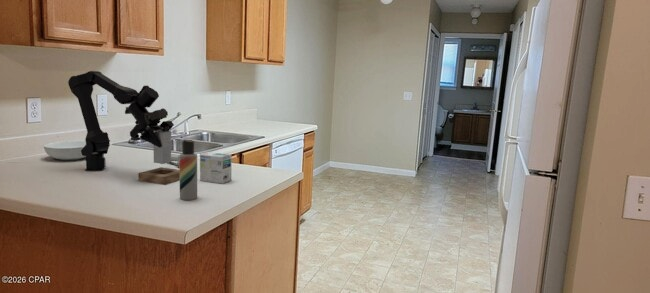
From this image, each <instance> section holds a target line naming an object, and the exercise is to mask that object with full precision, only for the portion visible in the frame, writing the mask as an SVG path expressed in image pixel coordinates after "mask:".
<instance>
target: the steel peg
mask: <svg viewBox="0 0 650 293" xmlns="http://www.w3.org/2000/svg"><path fill="white" fill-rule="evenodd" d="M154 134H155V136H156V137H157V139H158V140H159V142H160V144H161V145H162V146H161V147H160V148H159V147H157V146H155V145H153V163H154V164H162V165H165V164H169V163H172V161H171V154H172V139H171V138H172V132H171V131H156V132H155V131H154Z"/></svg>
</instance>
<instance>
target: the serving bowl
mask: <svg viewBox="0 0 650 293" xmlns="http://www.w3.org/2000/svg"><path fill="white" fill-rule="evenodd" d="M85 145H86V141H85V140H61V141H53V142H49V143H48V142H47V143H45V144H44V145H43V149H44V152H45V153H46V155H48V156H50V157H51V158H52V159H56V160H57V159H58V160H61V161H76V160H81V159H83V158H86V156H82V153H81V150H82V149H83V148H84V146H85Z"/></svg>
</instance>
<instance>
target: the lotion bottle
mask: <svg viewBox="0 0 650 293" xmlns="http://www.w3.org/2000/svg"><path fill="white" fill-rule="evenodd" d="M181 143H182V144H181V146H182V147H181V148H182V153H180V154H178V155H179V161H178V162H179V167H180V168H179V167H178V168H179V170H180V180H179V199H180V200H183V201H193V200H196V199H197V198H198V154H197V153H196V152H195V141H194V140H192V139H183V140H182V141H181Z"/></svg>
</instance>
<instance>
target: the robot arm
mask: <svg viewBox="0 0 650 293" xmlns="http://www.w3.org/2000/svg"><path fill="white" fill-rule="evenodd" d="M67 82H68V87H69V89H70V92H71V93H72V94H73V95H74V97H76V98H77V101H78V104H79V107H80V110H81V114H82V117H83V121H84V124H85V129H86V132H87V133H86V135H85V139H84V141H86V145H85V146H84V148H83V149H82V150H81V153H82V156H86V157H85V165H86V168H85V171H103V170H104V169H105V168H106V167H107V166H106V164H107V162H106V157H105V155H106V154H108V151H109V147H110V145H111V144H110V142H111V140H110V138H109V134H108V132H106V131H103V130H102V129H101V126H100V123H99V119H98V115H97V113H96V108H95V105H94V101H93V98H92V94H93V92H94V86H95V85H96V86H98V87H101V88H102V89H104V90H105V91H107V92H109V93H110V94H111V95H112V96H113V99H114V100H116V101H117V102H118V103H119V104H120V105H128V106H126V107H125V110H124V114H125V115H129V114H131V116H132V117H133V118H134V119H135V121H134V123H135V125H134V127H132V128H131V129H130V131H129V136H130V138H131V139H132V140H136V139H140V140H143V141H145V142H147V143H150V144H151V145H153V146H154V145H155V146H157V147H159V148H160V147H161V146H162V145H161V144H160V142H159V140H158V139H157V137H156V136H155V134H154V132H156V131H168V132H170V130H171V129H172V128H173V126H175V124H174V123H173V121H172V120H163V119H166V118H167V116H168V115H169V114H168V110H167V109H165V108H163V107H162V108H160V109H157V110H153V111H150V112H149V110H148V109H147V108H151V107H152V105H153V104H154V103H155V102H156V101H157V100H158V98H159V97H160V95H159V93H158V91H157V90H155V89H154V88H152V87H150V86H149V85H143V86H142V88H141V89H140V91H137V89H134V88H131V87H128V86H124V85H121V84H119V82H116V81H115V80H112V79H111V78H109V77H108V76H106V75H105V74H103V73H102V72H101V71H98V70H90V71H86V72H85V73H82V74H78V75H72V76H70V77H69V79H68V81H67ZM162 120H163V121H162ZM158 124H159V125H158ZM139 134H140V135H141V136H140V135H139Z"/></svg>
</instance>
